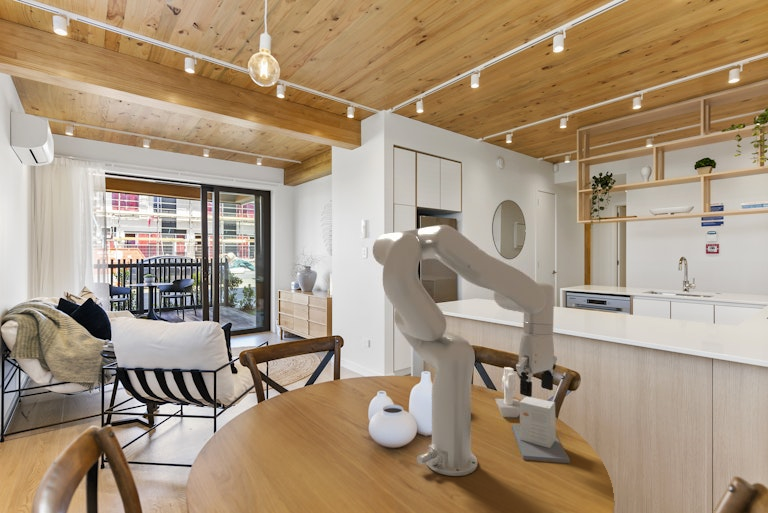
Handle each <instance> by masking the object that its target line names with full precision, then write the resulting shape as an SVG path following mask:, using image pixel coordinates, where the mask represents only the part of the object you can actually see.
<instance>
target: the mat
mask: <svg viewBox="0 0 768 513" xmlns="http://www.w3.org/2000/svg"><path fill="white" fill-rule="evenodd" d="M511 429H512V433H513V435H514V438H515V441H516V444H517V447H518V449H519V452H520V454H521V458H522V460H525V461H535V462H537V461H538V462H549V463H551V462H552V463H559V464H560V463H561V464H570V463H571V459H570V457H569V455H568V454H567V452H566V450H565V448H564V447H563V445H562V443H561V442H560V440H559V439H558V437H557V436H556V440H555V442H554V443H553V444H552V446H551V447H550V448H548V447H544V446H540V445H537V444H533V443H530V442H526V441H522V440H520V424H519V425H518V424H511Z"/></svg>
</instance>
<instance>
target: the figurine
mask: <svg viewBox="0 0 768 513" xmlns="http://www.w3.org/2000/svg"><path fill="white" fill-rule="evenodd" d="M514 372H515V371H514V368H512V367H509V366H508V367H507V366H504V367H503V376H502V379H501V390H502V391H503V393H504V394H503V396H504V397H503V398H495V399H494V401H495V403H496V404H497V407H498V410H499V412H500V415H502V417H503V418H518V417H519V416H520V401H519V400H518V399H517V398H514V391H515V389H516V387H517V384H516V383H517V382H516V381H517V379H516V378H517V376H516V374H515V373H514Z"/></svg>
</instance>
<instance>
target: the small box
mask: <svg viewBox="0 0 768 513" xmlns="http://www.w3.org/2000/svg"><path fill="white" fill-rule="evenodd" d="M519 403H520V414H519V425H520V440H522V441H526V442H530V443H533V444H537V445H540V446H544V447H548V448H550V447H551V446H552V444H553V443H554V442H555V440H556V437H557V435H556V430H557V429H556V402H555V401H550V400H546V399H542V398H536V397H527V396H525V397H524V398H523V399H522V400H520V401H519Z"/></svg>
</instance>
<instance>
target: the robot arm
mask: <svg viewBox="0 0 768 513" xmlns="http://www.w3.org/2000/svg"><path fill="white" fill-rule="evenodd" d="M372 255H373V258H374V259H375V261H376V262H377V263H378V264H380V265H381V266H383V268H382V287H383V290H384V293H385V295H386V296H387V299H388V300H389V302H390V303H391V305H392V306H393V308H394V309H395V311H394V323H395V325H396V327H397V329H398V330H399V333H401V335H402V337H403V338H405V340H406V341H407V342H408V343H409V345H410V346H411V347H412V349H413V350H414V352H416V353H417V355H418V356H419V357H420V358H421V360H422V361H424V362H425V363H426V364H429V365H430V366H432V367H433V368H435V375H434V377H433V381H432V384H431V385H432V386H431V444H429V445H428V450H427V451H426V452H425V453H422V454H419V455H417V456H416V461H417V464H419V465H423V464H426V465H427V467H428V468H430V469H431V470H432V471H434V472H435V473H438V474H441V475H445V476H449V477H450V476H451V477H460V476H462V477H463V476H466V475H469V474H471V473H474V471H475V470H476V469H477V467H478V459H477V457H476V455H475V454H474V453H473V452H472V450H471V449H472V442H471V441H472V434H471V432H472V394H471V393H472V380H473V378H472V377H473V374H474V367H475V364H476V363H475V361H476V358H475V357H476V356H475V350H474V348H473V346H472V345H471V343H470V342H469V341H468V340H467V339H465V338H464V337H462V336H461V335H457V334H455V333H453V332H449V331H447V320H446V317H445V314H444V312H443V310H441V308H440V307H439V305H437V302H435V300H434V299H433V298H432V296H431V295H430V294H429V292H428V291H427V290H426V288H425V287H424V285H423V284H422V281H421V280H420V277H419V272H418V271H419V264H420V261H424V260H428V259H431V260H437V261H439V262H440V263H442V264H443V265H444V266H446V267H448V269H449V270H452V272H453V273H455V274H457V275H458V276H460V277H461V278H462V279H464V280H465V281H466V282H468V283H471V284H472V285H475V286H477V287H481V288H484V289H487V290H489V291H493V299H494V301H495V303H496V304H497V305H498V306H499V307H501V308H502V309H504V310H506V311H513V312H518V313H522V314H523V324H522V325H523V327H522V328H523V329H522V330H523V331H522V335H521V338H520V341H519V342H520V343H519V351H518V363H516V365H515V370H516V374H517V376H518V379H519V380H520V382H519V383H520V384H519V394H520V395H523V396H525V397H526V396H527V397H532V396H533V382H532V381H531V380H532V378H533V376H534V375H535V374H538V373H541V382H540V383H541V384H540V385H541V386H540V387H541V388H542V389H545V390H549V391H553V390H554V375H555V370H556V367H557V366H556V364H557V360H558V357H557V356H555V350H554V349H555V347H554V346H555V345H554V337H553V336H554V307H555V306H554V303H555V289H554V286H553V285H552V284H550V283H542V282H537V281H535V280H533V279H532V278H531V277H530V276H528V274H526V273H524V272H523V271H522V270H520V269H517V268H515V267H514V266H512V265H510V264H508V263H506V262H503V261H502V260H500V259H498V258H496V257H494V256H491V255H490V254H488V253H487V252H485V251H484V250H483V249H482V248H480V247H479V246H477V244H475V243H474V242H472V241H471V240H470V239H468V238H467V237H466V236H465V235H463V234H462V233H461V232H459V231H458V230H457V229H455V228H454V227H452V226H450V225H448V224H436V225H431V226H425V227H420V228H415V229H410V230H403V231H395V232H390V233H389V232H388V233H384V234H382V235H380V236H379V237H377V238H376V239H375V241H374V243H373V246H372ZM527 373H528V374H527ZM532 398H533V397H532Z"/></svg>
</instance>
